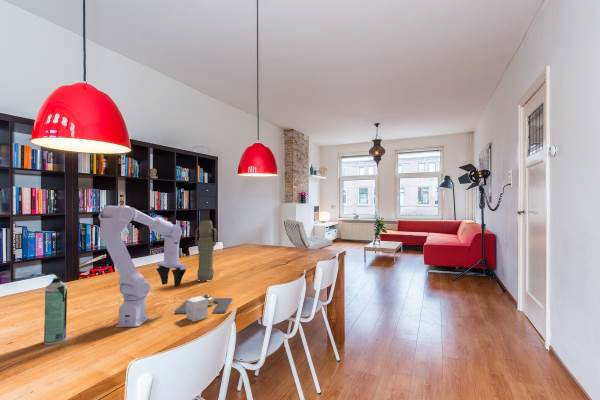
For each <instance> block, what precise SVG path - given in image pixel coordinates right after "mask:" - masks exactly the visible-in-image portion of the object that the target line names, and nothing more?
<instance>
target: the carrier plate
mask: <svg viewBox="0 0 600 400" xmlns="http://www.w3.org/2000/svg"><path fill="white" fill-rule="evenodd" d="M202 297H204V298H206V299H208V300H207V302H208V306H209V307H213V306H214V305H215V304H216V306H215V307H214V309H212V310H213V311H212V314H226V313H227V311H228V309H229V308H230V306H231V304H232V302H233V297H222V298H221V297H218V298H216V297H215V296H213V295H210V294H205V295H204V296H202ZM212 305H213V306H212ZM178 313H179V314H181V313H182V314H184V313H186V300H185V301H183V303H182V304H181V305H180V306H179V307H177V309H176V310H175V311H174V314H176V315H177V314H178ZM182 314H181V315H182Z"/></svg>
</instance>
